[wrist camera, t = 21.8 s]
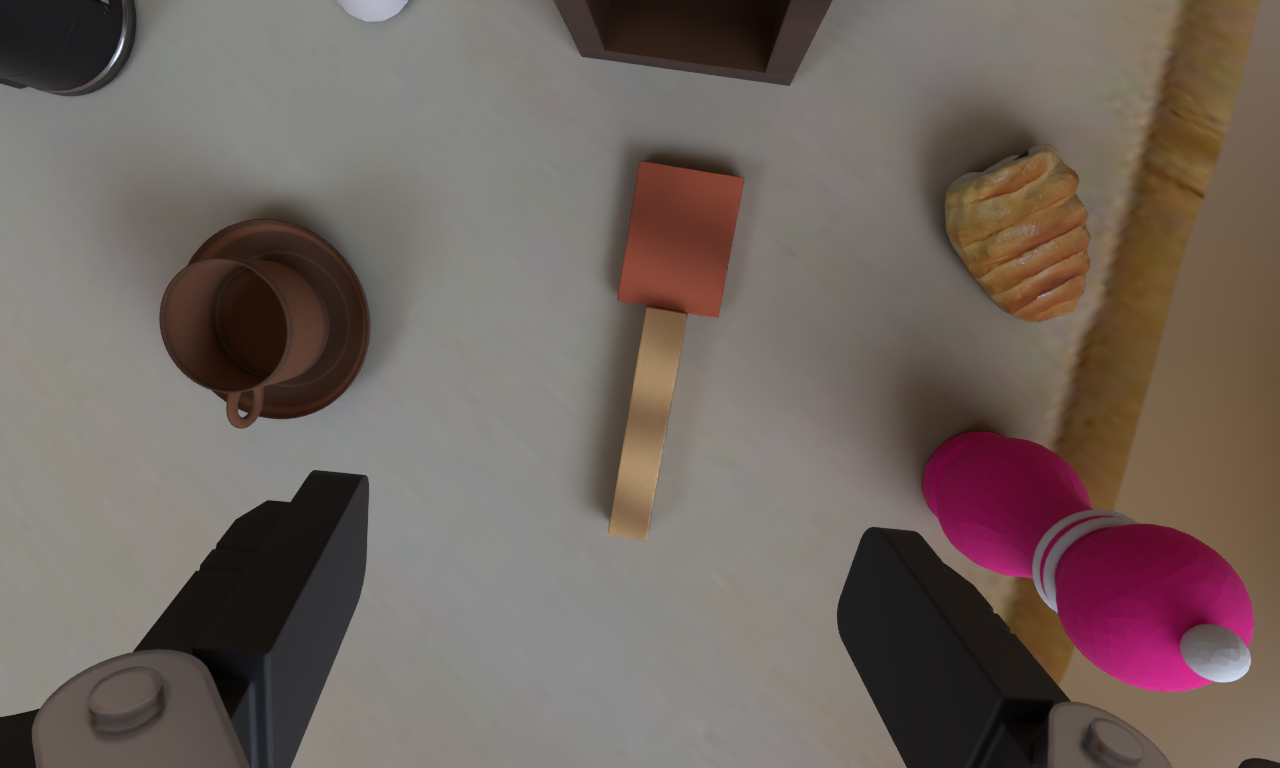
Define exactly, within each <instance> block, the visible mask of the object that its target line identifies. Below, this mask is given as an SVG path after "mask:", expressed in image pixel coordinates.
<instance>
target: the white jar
mask: <svg viewBox="0 0 1280 768" xmlns="http://www.w3.org/2000/svg"><path fill="white" fill-rule="evenodd" d="M335 1H336V2H337V3H338V4H339V5H340V6H341V7H342V8H343V9H344V10H345V11H346V12H347V13H348V14H350V15H351V16H353V17H356V18H358V19H361V20H363V21H366V22H375V21H385V20H387V19H388V18H390V17H392V16H394V15H396V14H398V13H399V12H400V11H401V10H402V8H403V7H404V6H405V5H406V3H407V2H408V1H409V0H335Z"/></svg>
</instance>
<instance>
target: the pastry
mask: <svg viewBox="0 0 1280 768" xmlns="http://www.w3.org/2000/svg"><path fill="white" fill-rule="evenodd" d="M1078 184H1079V178H1078V176H1077V174H1076V172H1075V171H1074V170H1072V169H1071V168H1069V167H1067V166H1066V165H1065V164H1064V163H1063V162H1062V161H1061V160H1060V159H1059V156H1058V154H1057V150H1056V148H1055V147H1053V146H1052V145H1050V144H1042V145H1037V146H1034V147H1031V148H1030V149H1028V150H1027V151H1025V152H1024V153H1022V154H1021V155H1014V156H1010V157H1008V158H1006V159H1003V160H1001V161H1000V162H998V163H997V164H995V165H993V166H991V167H989V168H988V169H986V170H985V171H984V172H971V173H967V174H965V175H963V176H962V177H960V178H956V179H955V180H954V181H953V182H952V183H951V184H950V186H949V187H948V189H947V192H946V197H945V224H946V231H947V235H948V237H949V239H950V241H951V244H952V246H953V248H954V249H955V251H956V252H957V253H958V254H959V256H960V257H961V259H962V261H963V263H964V264H965V266H966V267H967V269H968V270H969V272H970V273H971V274H972V276H973V277H974V278H975V279H976V281H977V282H978V283H979V284H980V285H981V287H982V288H983V289H984V290H985V291H986V292H987V294H988V295H989V296H990V297H991V299H992V300H993V301H994V302H995V304H996V305H997V306H998V307H999V308H1000V309H1002V310H1003V311H1005V312H1007V313H1009V314H1011V315H1012V316H1014V317H1016V318H1018V319H1021V320H1024V321H1026V322H1041V321H1044V320H1048V319H1051V318H1053V317H1057V316H1063V315H1066V314H1068V313H1071V312H1072V311H1074V310H1075V308H1076V306H1077V303H1078V300H1079V299H1080V297H1081V296H1082V295H1083V293H1084V288H1085V277H1086V273H1087V271H1088V270H1089V268H1090V259H1089V257H1088V254H1087V251H1086V250H1087V247H1088V244H1089V241H1090V234H1089V232H1088V230H1087V228H1086V221H1087V218H1088V213H1087V211H1086V209H1085V206H1084V204H1083V203H1082V202H1081V201H1080V200H1079V199H1078V195H1076V193H1075V192H1076V189H1077V187H1078Z"/></svg>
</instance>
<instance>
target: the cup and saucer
mask: <svg viewBox="0 0 1280 768" xmlns="http://www.w3.org/2000/svg"><path fill="white" fill-rule="evenodd" d="M160 330H161V335H162V339H163V342H164V345H165V347H166V349H167V351H168V353H169V355H170V357H171V359H172V360H173V362H174V363H175V364H176V366H177V367H178V368H179V369H180V370H181V371H182V372H183V373H184V374H185V375H186V376H187V377H188V378H190V379H191V380H192V381H194V382H195V383H197V384H199V385H201V386H203V387H205V388H207V389H210V390H212V391H213V392H214V393H215V394H216V395H218V396H219V397H220V398H222V399H223V400H224V401H226V402H227V406H226V411H227V417H228V420H229V422H230V423H231V425H233V426H234V427H236V428H240V429H242V428H246V427H248V426H250V425H251V424H253V423H254V422H255V420H256V419H257V418H258V416H259V417H264V418H271V419H291V418H298V417H302V416H306V415H309V414H312V413H315V412H317V411H319V410H321V409H323V408H325V407H326V406H328V405H330V404H331V403H332V402H334V401H335V400H336V399H338V398H339V397H340V396H341V395H342V394H343V393H344V392H345V391H346V390H347V389H348V388H349V387H350V385H351V384H352V383H353V381H354V380H355V378H356V377H357V375H358V373H359V372H360V370H361V368H362V365H363V363H364V361H365V357H366V354H367V350H368V346H369V339H370V316H369V309H368V304H367V300H366V297H365V294H364V291H363V288H362V286H361V284H360V282H359V280H358V278H357V276H356V274H355V272H354V271H353V269H352V268H351V266H350V265H349V263H348V262H347V261H346V259H345V258H344V257H343V256H342V255H341V254H340V253H339V252H338V251H337V250H336V249H335V248H334V247H333V246H332V245H331V244H329V243H328V242H327V241H325V240H324V239H323V238H321V237H319V236H318V235H316V234H315V233H313V232H311V231H309V230H307V229H305V228H303V227H300V226H298V225H295V224H292V223H288V222H285V221H279V220H271V219H255V220H248V221H243V222H240V223H236V224H233V225H231V226H228V227H226V228H224V229H222V230H220V231H219V232H217V233H216V234H214V235H213V236H211V237H210V238H209V239H208V240H207V241H205V242H204V243H203V244H202V246H201V247H200V248H199V249H198V250H197V251H196V253H195V254H194V255H193V257H192V258H191V260H190V261H189V263H188V265H187V267H185V268H184V269H182V270H181V271H180V272H179V273H178V274H177V275H176V276H175V277H174V278H173V279H172V281H171V282H170V284H169V285H168V287H167V289H166V291H165V293H164V296H163V299H162V302H161V307H160ZM238 409H240V410H242V411H244V412H247V413H248V414H247V415H246V416H245V417H243V418H242V417H240V416H239V414H238Z"/></svg>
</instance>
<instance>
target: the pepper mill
mask: <svg viewBox="0 0 1280 768" xmlns="http://www.w3.org/2000/svg"><path fill="white" fill-rule="evenodd" d="M923 491H924V496H925V499H926V502H927V504H928V506H929V508H930V509H931V511H932V512H933V513H934V514H935V515H936V517H937V518H938V519H939V522H940V524H941V527H942V529H943V531H944V533H945V535H946V536H947V538H948V539H949V541H950V542H951V543H952V544H953V545H954V547H955V548H956V549H957V550H959V551H960V552H961V553H962V554H964V555H965V556H966V557H968V558H969V559H970V560H972V561H973V562H975V563H976V564H978V565H980V566H982V567H984V568H987V569H989V570H992V571H995V572H997V573H1000V574H1004V575H1008V576H1015V577H1028V578H1033V579H1034V583H1035V586H1036V589H1037V591H1038V593H1039V595H1040V596H1041V598H1042V599H1043V600H1044V601H1045V603H1046V604H1047V605H1048V606H1049V607H1050V608H1052V609H1053V610H1054V611H1056V613H1057V614H1058V616H1059V618H1060V621H1061V623H1062V626H1063V628H1064V630H1065V633H1066V634H1067V635H1068V637H1069V638H1070V640H1071V641H1072V642H1073V644H1074V645H1075V646H1076V647H1077V649H1078V650H1079V651H1080V652H1081V653H1082V655H1084V656H1085V657H1086V658H1087V659H1088V660H1090V661H1091V662H1092V663H1093V664H1094V665H1095V666H1097V667H1098V668H1100V669H1101V670H1103V671H1104V672H1106V673H1107V674H1109V675H1111V676H1113V677H1115V678H1117V679H1119V680H1121V681H1123V682H1125V683H1127V684H1130V685H1133V686H1136V687H1140V688H1143V689H1146V690H1153V691H1161V692H1163V691H1185V690H1190V689H1194V688H1199V687H1201V686H1204V685H1207V684H1209V683H1212V682H1214V681H1217V682H1230V681H1234V680H1237V679H1239V678H1241V677H1242V676H1243V675H1244V674H1246V672H1247V671H1248V669H1249V666H1250V663H1251V658H1250V652H1249V650H1248V647H1249V644H1250V641H1251V638H1252V635H1253V627H1254V618H1253V609H1252V603H1251V600H1250V597H1249V595H1248V592H1247V590H1246V588H1245V585H1244V583H1243V582H1242V580H1241V579H1240V577H1239V576H1238V574H1237V573H1236V572H1235V570H1234V569H1233V568H1232V566H1231V565H1230V564H1229V563H1228V562H1227V561H1226V560H1225V559H1224V558H1223V557H1221V556H1220V555H1219V554H1218V553H1217V552H1216V551H1215V550H1213V549H1212V548H1210V547H1209V546H1207V545H1206V544H1204V543H1203V542H1201V541H1199V540H1198V539H1196V538H1194V537H1193V536H1191V535H1188V534H1186V533H1183V532H1181V531H1178V530H1176V529H1173V528H1170V527H1164V526H1159V525H1153V524H1140V523H1138V522H1136V521H1134V520H1133V519H1131V518H1129V517H1128V516H1126V515H1123V514H1121V513H1118V512H1114V511H1110V510H1101V509H1099V510H1093V509H1092V506H1091V503H1090V500H1089V497H1088V494H1087V491H1086V489H1085V487H1084V486H1083V484H1082V482H1081V481H1080V479H1079V477H1078V476H1077V474H1076V473H1075V472H1074V470H1073V469H1072V468H1071V467H1070V465H1069V464H1068V463H1067V462H1065V461H1064V460H1063V459H1062V458H1061V457H1059V456H1058V455H1056V454H1055V453H1053V452H1052V451H1050V450H1049V449H1047V448H1045V447H1043V446H1042V445H1039V444H1037V443H1034V442H1031V441H1028V440H1022V439H1016V438H1005V437H1003V436H1001V435H999V434H995V433H992V432H983V431H973V432H967V433H963V434H960V435H957V436H955V437H953V438H951V439H949V440H948V441H946V442H945V443H944V444H942V445H941V446H940V447H939V448H938V449H937V450H936V451H935V452H934V453H933V455H932V456H931V458H930V460H929V462H928V463H927V466H926V468H925V471H924V478H923Z"/></svg>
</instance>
